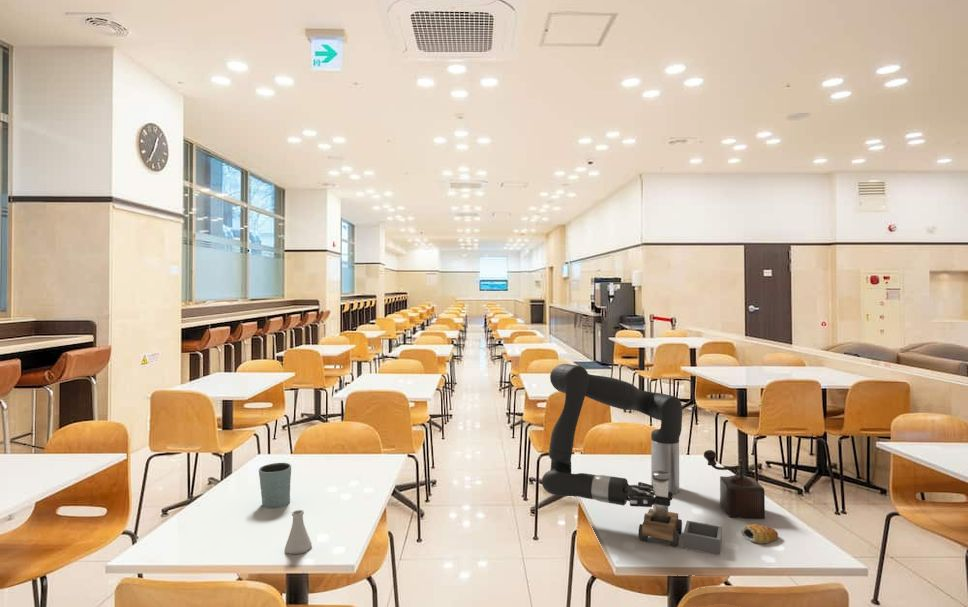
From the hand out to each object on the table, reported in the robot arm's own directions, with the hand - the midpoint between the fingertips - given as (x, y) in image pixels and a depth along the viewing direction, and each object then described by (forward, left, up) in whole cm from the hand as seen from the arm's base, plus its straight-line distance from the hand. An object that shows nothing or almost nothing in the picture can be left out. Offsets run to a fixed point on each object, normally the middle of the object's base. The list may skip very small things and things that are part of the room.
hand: (670, 499), depth 148 cm
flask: (+50, -90, -11) cm, 103 cm away
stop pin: (0, -3, -8) cm, 9 cm away
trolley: (-1, -3, -11) cm, 11 cm away
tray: (0, +8, -11) cm, 14 cm away
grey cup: (+30, -121, -11) cm, 125 cm away
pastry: (-11, +22, -12) cm, 27 cm away
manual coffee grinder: (-28, +15, -11) cm, 34 cm away
